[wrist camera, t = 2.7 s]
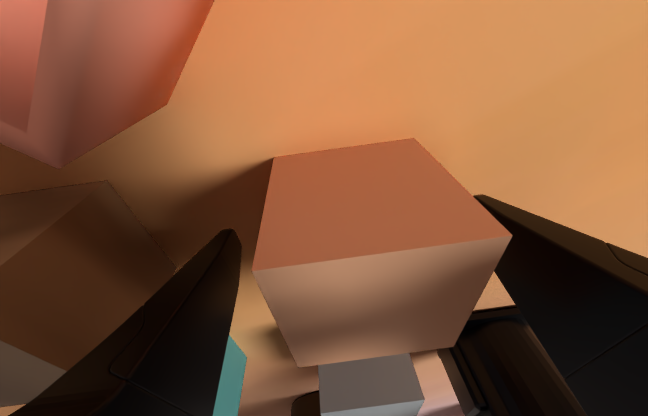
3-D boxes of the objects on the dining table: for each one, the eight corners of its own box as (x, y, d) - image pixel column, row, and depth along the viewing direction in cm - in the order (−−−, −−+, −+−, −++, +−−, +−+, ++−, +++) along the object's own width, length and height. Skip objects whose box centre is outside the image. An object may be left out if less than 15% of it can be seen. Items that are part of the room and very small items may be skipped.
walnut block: (108, 179, 8) (-59, 313, 5) (177, 267, 12) (113, 392, 8) (-29, 198, 9) (-310, 347, 5) (76, 280, 12) (-40, 412, 8)
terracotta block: (413, 137, 8) (513, 235, 4) (400, 236, 12) (453, 346, 8) (274, 156, 8) (251, 271, 5) (298, 250, 12) (298, 367, 8)
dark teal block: (223, 325, 15) (196, 430, 11) (247, 356, 18) (232, 447, 14) (146, 335, 15) (92, 443, 11) (183, 364, 18) (151, 457, 14)
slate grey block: (392, 302, 15) (424, 399, 11) (388, 337, 18) (412, 423, 14) (315, 312, 15) (320, 413, 11) (323, 346, 18) (330, 434, 14)
